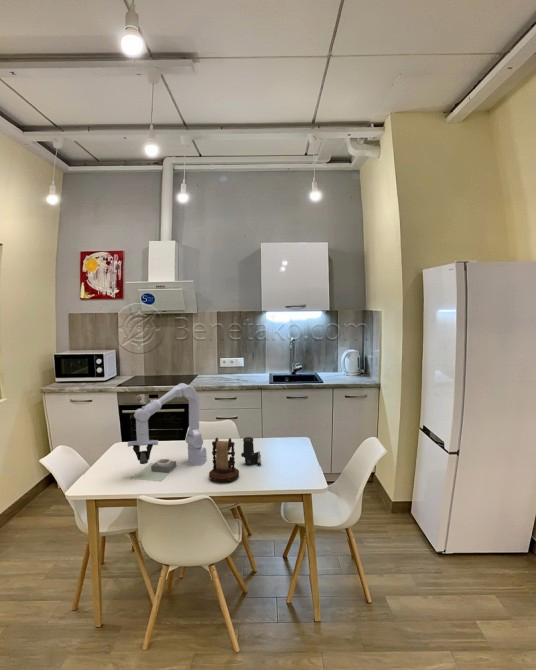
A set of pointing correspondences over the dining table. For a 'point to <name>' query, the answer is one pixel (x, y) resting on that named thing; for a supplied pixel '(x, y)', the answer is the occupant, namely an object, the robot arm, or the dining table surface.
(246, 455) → the scope
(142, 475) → the mat
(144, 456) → the lens
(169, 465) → the camera body
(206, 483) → the dining table surface
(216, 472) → the scroll
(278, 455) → the dining table surface
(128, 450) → the dining table surface
